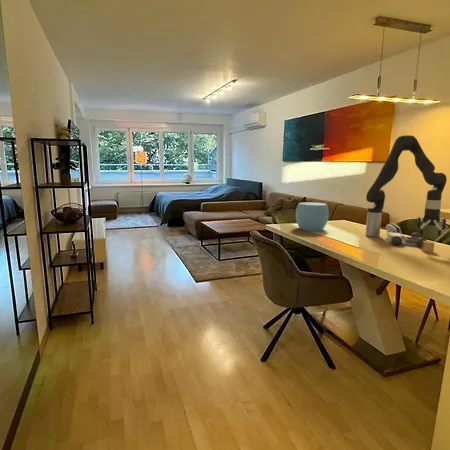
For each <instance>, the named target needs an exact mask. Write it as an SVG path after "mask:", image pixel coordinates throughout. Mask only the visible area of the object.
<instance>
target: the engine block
mask: <svg viewBox="0 0 450 450" xmlns="http://www.w3.org/2000/svg"><path fill="white" fill-rule="evenodd" d="M435 244H436V243H435V242H434V241H433V240H432V241H430V240H427V241H423V243H422V248H421V252H422V253H423V254H434V248H435Z"/></svg>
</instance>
